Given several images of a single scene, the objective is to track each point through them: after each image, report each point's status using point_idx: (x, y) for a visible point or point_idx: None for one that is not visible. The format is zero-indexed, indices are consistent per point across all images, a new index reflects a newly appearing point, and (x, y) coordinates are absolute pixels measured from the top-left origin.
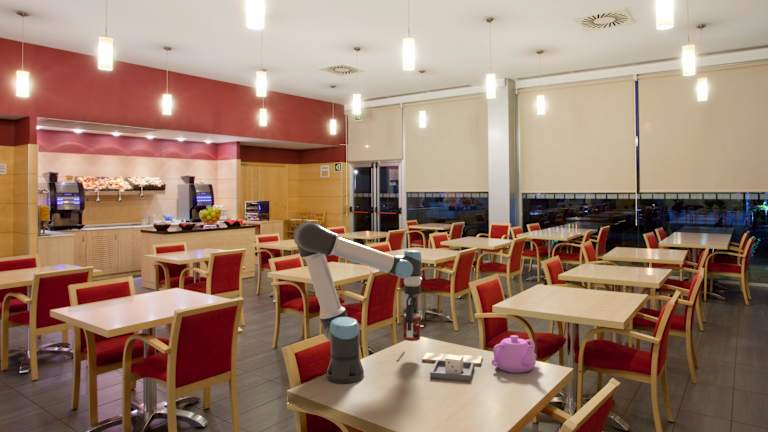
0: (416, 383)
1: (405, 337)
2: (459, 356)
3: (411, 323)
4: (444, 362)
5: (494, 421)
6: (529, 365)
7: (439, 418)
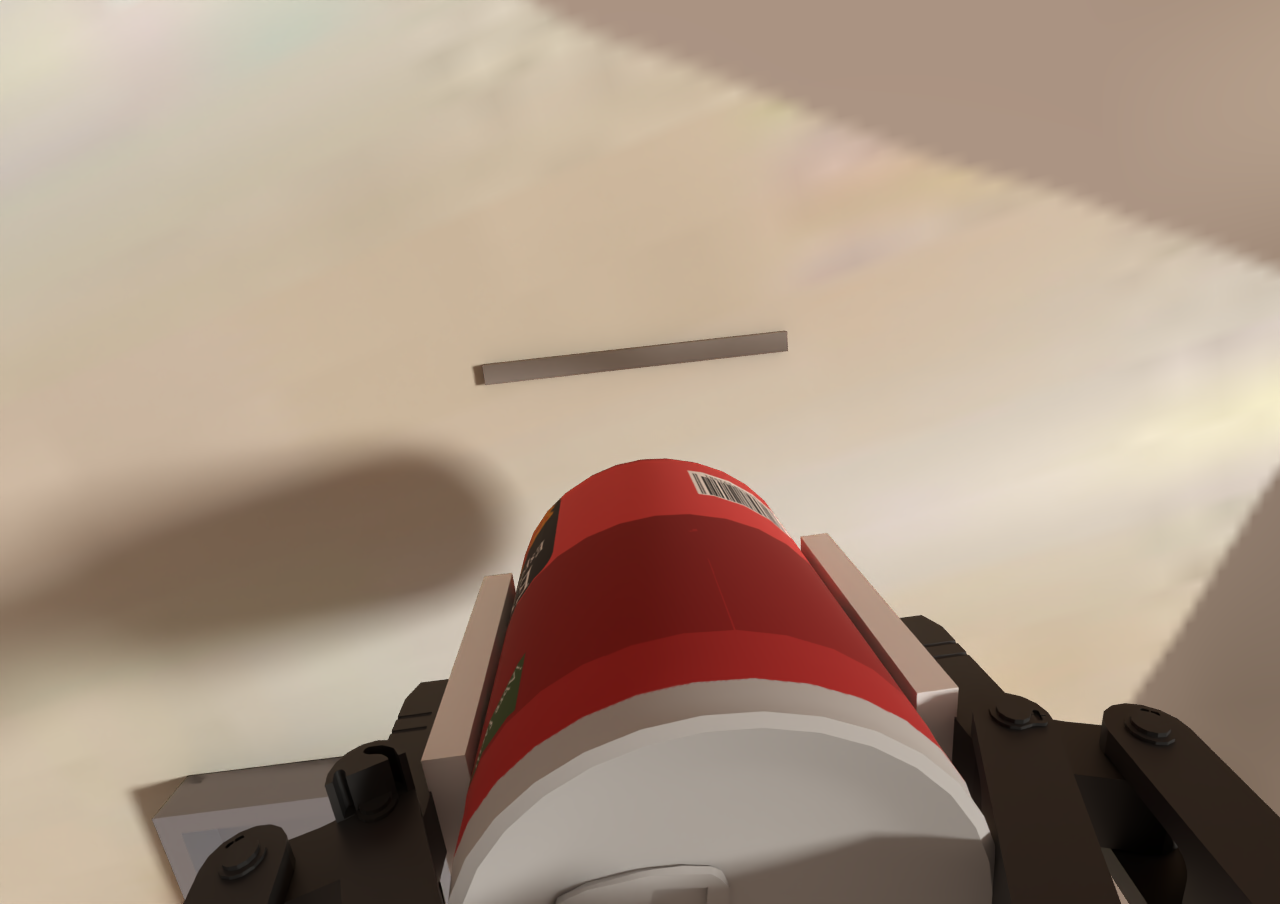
0: (21, 718)
1: (534, 534)
2: None
3: (448, 847)
4: None
5: None
6: None
7: None
